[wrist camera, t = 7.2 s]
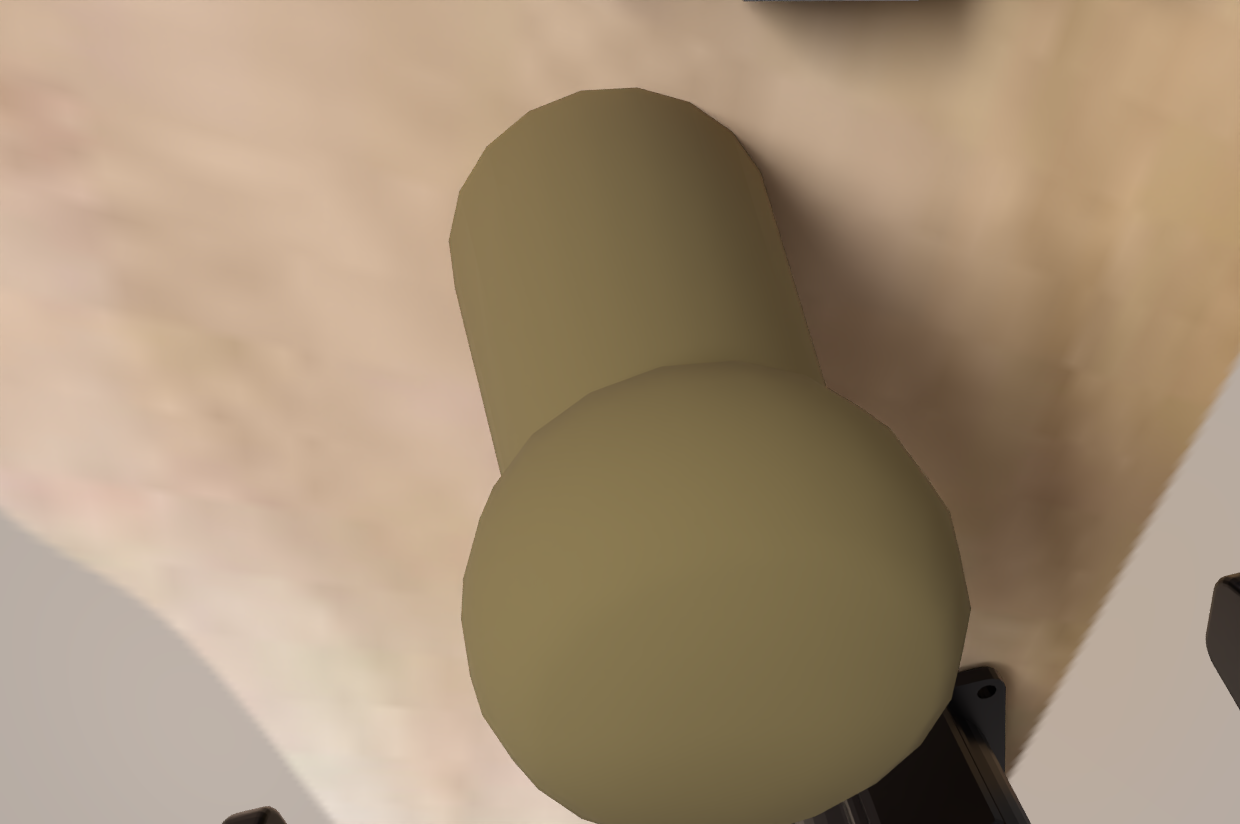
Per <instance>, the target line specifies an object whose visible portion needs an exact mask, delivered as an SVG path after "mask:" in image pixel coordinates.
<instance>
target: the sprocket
mask: <svg viewBox="0 0 1240 824" xmlns="http://www.w3.org/2000/svg"><path fill="white" fill-rule="evenodd" d="M743 1H919V0H743Z"/></svg>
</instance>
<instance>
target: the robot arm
mask: <svg viewBox="0 0 1240 824" xmlns="http://www.w3.org/2000/svg"><path fill="white" fill-rule="evenodd" d="M1206 646H1207V650H1208V654H1209V656H1210V659H1211V661H1212V663H1213V665H1214V667H1215V668H1216V670H1217V672H1218V673H1219V675H1220V677H1221V679H1222V680H1223V682H1224V684H1225V685H1226V687H1227V689H1228V690H1229V692H1230V694H1231V696H1232V697H1233V699H1234V701H1235V702H1236V704H1237V706H1238V707H1239V709H1240V573H1236V574H1232V575H1228V576H1224V577H1222V578H1220V579H1219V581H1218V582H1217V583H1216V584H1215V587H1214V591H1213V597H1212V603H1211V609H1210V614H1209V621H1208V626H1207V632H1206ZM1005 700H1006V687H1005V684H1004V682H1003V680H1002V678H1001V677H1000V675H999V673H998V671H997V670H995V669H994V668H991V667H981V668H976V669H972V670H968V671H964V672H960V673H957V677H956V681H955V686H954V690H953V694H952V698H951V700H950V702H949V703H948V705H947V706H946V708H945V709H944V711H943V712H942V714H941V715H940V717H939V718H938V720H937V721H936V723H935V724H934V726H933V727H932V729H931V730H930V732H929V733H928V735H927V736H926V738H925V739H924V741H923V742H922V744H921V745H920V746H919V747H918V748H917V749H915V750H914V751H913V752H912V753H911V754H910V755H909V756H907V757H906V758H905V759H904V760H903V761H902V762H900V763H899V764H898V765H897V766H896V767H895V768H894V769H892V770H891V771H890V772H889V773H888V774H887V775H885V776H884V777H883V778H882V779H881V780H880V781H879V782H877V783H876V784H874V785H872V786H871V787H869V788H867V789H865V790H863V791H861V792H860V793H858V794H856V795H854V796H852V797H850V798H849V799H847V800H845V801H843V802H841V803H839V804H837V805H836V806H834V807H832V808H830V809H828V810H826V811H825V812H823V813H821V814H819V815H817V816H815V817H812V818H808V819H805V820H802V821H799V822H796V823H793V824H1031V823H1030V821H1029V819H1028V817H1027V816H1026V813H1025V811H1024V810H1023V808H1022V806H1021V804H1020V802H1019V800H1018V798H1017V796H1016V794H1015V793H1014V791H1013V789H1012V787H1011V785H1010V783H1009V781H1008V779H1007V777H1006V775H1005ZM222 824H287V823H286V822H285V820H284V819H283V818H282V816H281V815H280V813H279V812H278V811H277V810H276V809H274V808H271V807H270V806H265V807H260V808H256V809H252V810H248V811H244V812H239V813H236V814H233V815H231V816H230V817H228V818H227V819H226V820H225V821H224V822H223V823H222Z"/></svg>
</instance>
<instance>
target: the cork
mask: <svg viewBox="0 0 1240 824" xmlns="http://www.w3.org/2000/svg"><path fill="white" fill-rule="evenodd" d="M449 245H450V253H451V261H452V268H453V276H454V284H455V290H456V294H457V298H458V302H459V306H460V310H461V314H462V318H463V322H464V327H465V331H466V335H467V339H468V343H469V347H470V351H471V355H472V359H473V363H474V367H475V371H476V375H477V379H478V383H479V388H480V392H481V396H482V400H483V404H484V408H485V412H486V416H487V420H488V424H489V428H490V432H491V436H492V440H493V445H494V449H495V453H496V457H497V461H498V465H499V469H500V473H501V477H500V478H499V480H498V481H497V483H496V484H495V485H494V487H493V489H492V491H491V494H490V496H489V498H488V501H487V503H486V505H485V508H484V510H483V512H482V515H481V517H480V520H479V523H478V527H477V531H476V534H475V538H474V542H473V545H472V549H471V552H470V556H469V560H468V563H467V567H466V571H465V574H464V578H463V594H462V613H461V621H462V627H463V634H464V640H465V646H466V652H467V659H468V665H469V671H470V677H471V680H472V683H473V686H474V690H475V693H476V696H477V699H478V703H479V706H480V709H481V712H482V715H483V717H484V718H485V720H486V721H487V723H488V724H489V726H490V727H491V729H492V730H493V732H494V733H495V735H496V736H497V737H498V739H499V740H500V742H501V743H502V745H503V746H504V748H505V749H506V751H507V752H508V754H509V755H510V757H511V758H512V760H513V761H514V762H515V763H516V764H517V765H518V767H519V768H520V769H521V770H522V771H523V772H524V773H525V775H526V776H527V777H528V778H529V779H530V780H531V781H532V783H533V784H534V785H535V786H536V787H537V788H538V789H539V790H540V791H542V792H543V793H545V794H546V795H548V796H549V797H550V798H552V799H553V800H555V801H556V802H558V803H559V804H561V805H562V806H564V807H565V808H567V809H568V810H570V811H571V812H573V813H574V814H576V815H577V816H578V817H580V818H581V819H584V820H587V821H591V822H594V823H597V824H793V823H796V822H799V821H802V820H805V819H808V818H812V817H815V816H817V815H819V814H821V813H823V812H825V811H826V810H828V809H830V808H832V807H834V806H836V805H837V804H839V803H841V802H843V801H845V800H847V799H849V798H850V797H852V796H854V795H856V794H858V793H860V792H861V791H863V790H865V789H867V788H869V787H871V786H872V785H874V784H876V783H877V782H879V781H880V780H881V779H882V778H883V777H884V776H885V775H887V774H888V773H889V772H890V771H891V770H892V769H894V768H895V767H896V766H897V765H898V764H899V763H900V762H902V761H903V760H904V759H905V758H906V757H907V756H909V755H910V754H911V753H912V752H913V751H914V750H915V749H917V748H918V747H919V746H920V745H921V744H922V742H923V741H924V739H925V738H926V736H927V735H928V733H929V732H930V730H931V729H932V727H933V726H934V724H935V723H936V721H937V720H938V718H939V717H940V715H941V714H942V712H943V711H944V709H945V708H946V706H947V705H948V703H949V702H950V700H951V698H952V694H953V690H954V686H955V681H956V677H957V673H958V669H959V665H960V660H961V656H962V652H963V647H964V642H965V637H966V632H967V627H968V621H969V616H970V611H971V606H970V601H969V596H968V591H967V586H966V582H965V577H964V572H963V567H962V562H961V557H960V552H959V548H958V544H957V540H956V536H955V532H954V527H953V523H952V519H951V515H950V512H949V510H948V509H947V507H946V506H945V504H944V503H943V501H942V500H941V498H940V497H939V495H938V494H937V492H936V491H935V489H934V488H933V486H932V485H931V483H930V482H929V480H928V479H927V477H926V476H925V475H924V473H923V472H922V471H921V469H920V468H919V467H918V465H917V464H916V463H915V461H914V460H913V459H912V457H911V456H910V455H909V454H908V452H907V451H906V450H905V448H904V447H903V446H902V444H901V443H900V442H899V440H898V439H897V438H896V436H895V435H894V434H893V432H892V431H891V430H890V429H889V428H888V427H887V426H885V425H884V424H883V423H881V422H880V421H878V420H877V419H876V418H874V417H873V416H871V415H870V414H869V413H867V412H866V411H865V410H863V409H862V408H860V407H859V406H857V405H856V404H854V403H852V402H851V401H849V400H847V399H845V398H844V397H842V396H840V395H839V394H837V393H835V392H834V391H832V390H830V389H828V388H827V387H826V385H825V382H824V379H823V376H822V372H821V369H820V366H819V362H818V359H817V356H816V353H815V349H814V346H813V343H812V339H811V336H810V333H809V330H808V326H807V323H806V320H805V317H804V313H803V310H802V307H801V303H800V300H799V297H798V294H797V290H796V287H795V284H794V280H793V277H792V274H791V271H790V267H789V264H788V261H787V257H786V254H785V251H784V248H783V244H782V241H781V238H780V235H779V231H778V228H777V225H776V221H775V218H774V215H773V212H772V208H771V205H770V202H769V198H768V195H767V192H766V189H765V185H764V182H763V179H762V175H761V172H760V171H759V169H758V168H757V167H756V165H755V164H754V162H753V161H752V160H751V158H750V157H749V155H748V154H747V152H746V151H745V150H744V148H743V147H742V145H741V144H740V143H739V141H738V140H737V138H736V137H735V136H734V134H733V133H732V132H731V131H730V130H729V129H727V128H726V127H724V126H723V125H721V124H720V123H718V122H717V121H716V120H714V119H713V118H711V117H710V116H708V115H707V114H706V113H704V112H703V111H701V110H700V109H698V108H697V107H695V106H694V105H693V104H691V103H690V102H687V101H683V100H680V99H676V98H672V97H669V96H665V95H662V94H658V93H654V92H651V91H647V90H643V89H640V88H622V89H605V90H587V91H579V92H577V93H574V94H572V95H569V96H567V97H564V98H562V99H559V100H557V101H554V102H552V103H549V104H547V105H544V106H542V107H539V108H536V109H534V110H531V111H529V112H528V113H527V114H525V115H524V116H523V117H522V118H521V119H519V120H518V121H517V122H516V123H515V124H513V125H512V126H511V127H510V128H509V129H507V130H506V131H505V132H504V133H503V134H501V135H500V136H499V137H498V138H497V139H495V140H494V141H493V142H492V143H491V144H489V145H488V146H487V147H486V149H485V151H484V152H483V154H482V156H481V157H480V159H479V160H478V162H477V164H476V165H475V167H474V169H473V170H472V172H471V174H470V175H469V177H468V178H467V180H466V182H465V183H464V185H463V187H462V188H461V190H460V192H459V196H458V201H457V205H456V210H455V215H454V219H453V224H452V229H451V233H450V238H449Z"/></svg>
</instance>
